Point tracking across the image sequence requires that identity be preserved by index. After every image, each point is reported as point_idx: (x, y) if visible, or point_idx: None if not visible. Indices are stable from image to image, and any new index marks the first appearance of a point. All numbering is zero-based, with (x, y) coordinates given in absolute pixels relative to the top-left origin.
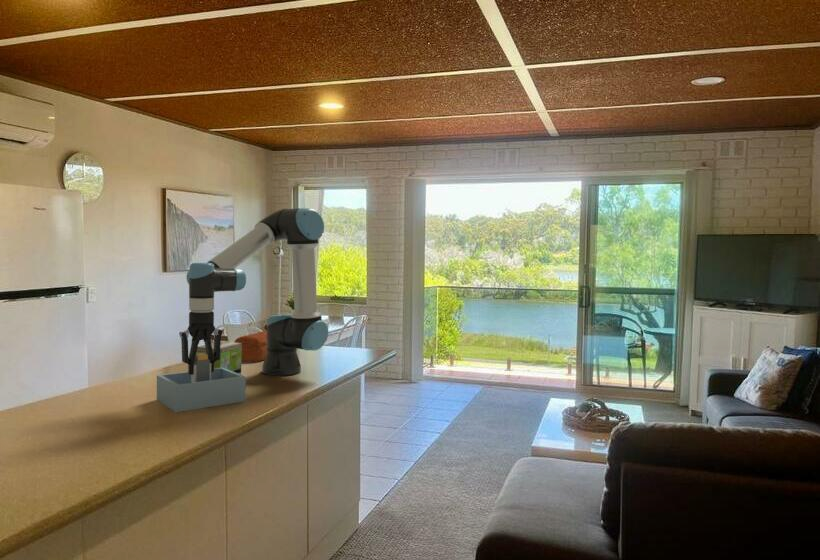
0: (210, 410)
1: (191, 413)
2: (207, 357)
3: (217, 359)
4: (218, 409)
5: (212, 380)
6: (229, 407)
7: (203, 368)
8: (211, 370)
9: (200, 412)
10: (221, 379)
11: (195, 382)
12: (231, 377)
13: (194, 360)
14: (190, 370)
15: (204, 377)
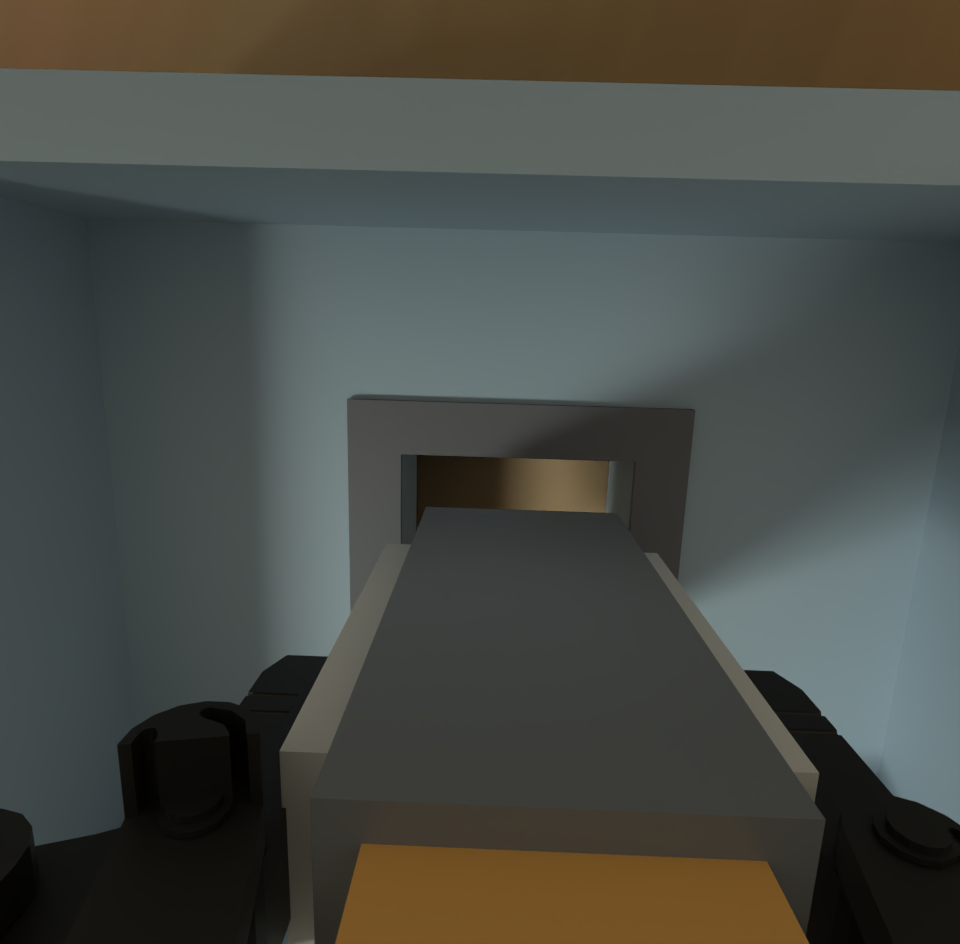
0: (611, 39)
1: (841, 48)
2: (370, 917)
3: (3, 828)
4: (516, 22)
5: (519, 139)
6: (372, 29)
7: (545, 639)
8: (314, 675)
9: (742, 24)
10: (322, 114)
11: (891, 166)
12: (12, 571)
13: (894, 908)
14: (817, 729)
15: (509, 556)
